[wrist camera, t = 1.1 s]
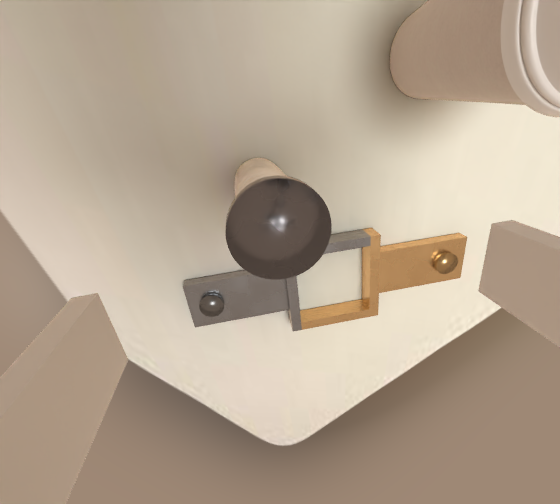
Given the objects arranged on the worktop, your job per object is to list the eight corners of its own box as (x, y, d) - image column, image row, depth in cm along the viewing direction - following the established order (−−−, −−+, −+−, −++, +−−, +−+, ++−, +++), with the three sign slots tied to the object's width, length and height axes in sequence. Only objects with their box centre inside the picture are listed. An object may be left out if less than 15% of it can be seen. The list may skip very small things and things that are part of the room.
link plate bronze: (289, 241, 29) (293, 249, 28) (462, 212, 31) (476, 218, 29) (298, 318, 33) (301, 329, 32) (450, 289, 35) (462, 298, 33)
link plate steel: (178, 260, 28) (175, 269, 27) (362, 229, 30) (370, 236, 28) (201, 336, 33) (199, 349, 31) (362, 306, 34) (369, 316, 32)
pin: (223, 156, 25) (215, 188, 14) (284, 147, 26) (328, 171, 14) (234, 215, 28) (236, 287, 16) (291, 207, 28) (333, 270, 16)
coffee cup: (449, -55, 22) (813, -346, 8) (497, 61, 25) (801, -5, 12) (348, 47, 23) (509, -52, 10) (408, 141, 27) (583, 163, 14)
